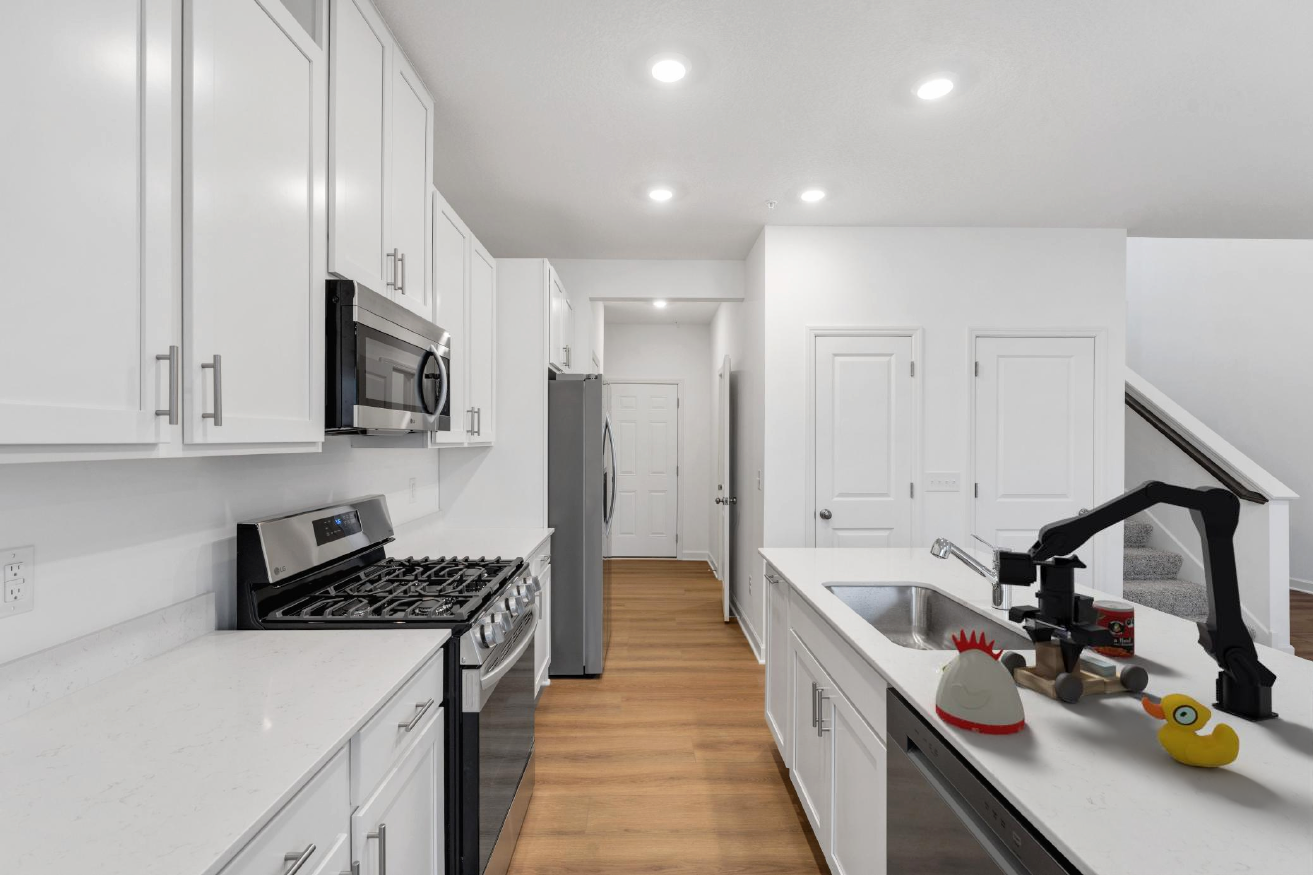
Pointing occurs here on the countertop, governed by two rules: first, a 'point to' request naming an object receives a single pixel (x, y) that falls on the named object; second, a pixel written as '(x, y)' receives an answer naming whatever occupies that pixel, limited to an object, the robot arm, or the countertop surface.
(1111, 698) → the countertop surface
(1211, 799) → the countertop surface
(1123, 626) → the canned food
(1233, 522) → the robot arm
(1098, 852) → the countertop surface
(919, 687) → the countertop surface
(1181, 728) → the duckling
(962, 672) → the kitchen timer
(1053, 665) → the block
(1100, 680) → the chassis
